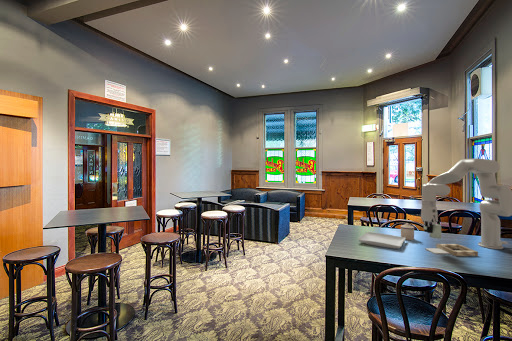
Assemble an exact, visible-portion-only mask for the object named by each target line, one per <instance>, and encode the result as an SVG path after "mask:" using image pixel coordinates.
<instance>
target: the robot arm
mask: <svg viewBox="0 0 512 341" xmlns="http://www.w3.org/2000/svg"><path fill="white" fill-rule="evenodd" d="M500 169H501V165H500V163H499V162H498V161H497V160H494V159H486V158H485V159H484V158H463V159H460V160H459V161H458V162H457V163H455V165H453V166H452V167H451V168H449V170H448V171H446V172H443V173H442V174H439V175H437V176H435V177H433V178H432V179H430V180H429V181H428V183H425V184H422V185H421V209H420V210H421V211H420V219H421V221H422V223H423V227H424V226H427V230H425V229H424V228H423V230H424V231H423V232H426V233H428V234H430V233H433V225H435V224H437V223H438V222H439V220H438V219H439V218H438V216H439V214H438V208H437V196H439V197H446V196H448V195H449V194H450V193H451V187H450V186H448V184H453V183H458V182H459V181H461V180H462V179H463V178H465V176H466V175H467V174H469V173H472V174H474V175H476V177H477V178H478V183H479V192H480V195H481V196H482V197H483V198H485V199H484V200H482V201H480V203H479V212H480V217H481V219H480V220H481V221H480V223H481V224H480V225H481V226H480V229H481V230H480V231H481V232H480V242H478V243H477V244H478V246H480V247H482V248H487V249H492V250H503V249H504V246H503V245H508V244H509V243H508V242H507V241H505V240H504V241H503V240H501V219H500V217H511V216H512V189H511V187H509V186H508V185H505V184H498V182H497V179H496V175H495V174H496V173H498V172H499V171H500ZM499 216H500V217H499Z"/></svg>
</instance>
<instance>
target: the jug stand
mask: <svg viewBox="0 0 512 341" xmlns="http://www.w3.org/2000/svg"><path fill="white" fill-rule="evenodd" d="M436 248H440V249H442V250H444V251H446V252H448V253H449V254H448V255H452V256H454V257H479V252H478V251H477V250H474V249H472V248H469V247H467V246H465V245H461V244H458V243H436Z"/></svg>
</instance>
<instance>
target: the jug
mask: <svg viewBox="0 0 512 341" xmlns="http://www.w3.org/2000/svg"><path fill="white" fill-rule="evenodd" d="M424 229H425V230H427V226H424V225H423V230H424ZM429 238H431V239H432V238H433V239H442V225H441V224H439V223H436V224H435V225H433V233H429Z"/></svg>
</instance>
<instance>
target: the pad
mask: <svg viewBox="0 0 512 341" xmlns="http://www.w3.org/2000/svg"><path fill="white" fill-rule="evenodd" d="M425 250H426V251H428V252H430V253H432V254H434V255H450V254H449V253H448V252H446V251H444V250H442V249H440V248H435V247H434V248H433V247H431V248H430V247H428V248H426V247H425Z"/></svg>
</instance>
